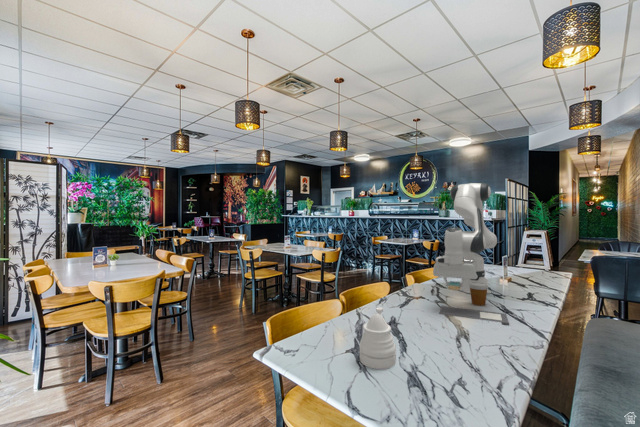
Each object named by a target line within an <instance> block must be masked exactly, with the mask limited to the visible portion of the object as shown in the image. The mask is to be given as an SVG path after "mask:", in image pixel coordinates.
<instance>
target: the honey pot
mask: <svg viewBox="0 0 640 427" xmlns="http://www.w3.org/2000/svg"><path fill="white" fill-rule="evenodd" d="M375 310H376V313H373V314H372V315H371V316H370V318H369V319H368V321H367V322H366V323H364V324H363V325H362V328H363V330H364V332H363V333H362V337H361V340H360V343H359V361H360V362H361V364H362V365H364V366H366V367H367V368H371V369H376V370H385V369H391V368H393V367H394V366H395V365H397V364H396V363H397V352H396V351H397V347H396V346H397V345H396V344H395V341H394V337H393V334H392V333H391V331H392V326H390V325H389V324H388V323H387V322H386V320H385V318H384V317H383V316H382V313H383V312H384V311H383V310H384V307H380V306H379V307H376V308H375Z"/></svg>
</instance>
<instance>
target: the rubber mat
mask: <svg viewBox="0 0 640 427" xmlns="http://www.w3.org/2000/svg"><path fill="white" fill-rule="evenodd" d="M438 314H439V315H443V316H451V317H458V318H464V319H465V318H466V319H473V320H481V321H489V322H496V323H501V325H503V326H510V324H509V323H510V322H509V319H508V316H507V313H503V312H495V311H488V310H487V311H486V310H478V309H471V308H469V309H468V308H461V307H453V306H445V305H441V306H440V308H439V311H438Z"/></svg>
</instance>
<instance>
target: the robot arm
mask: <svg viewBox="0 0 640 427" xmlns="http://www.w3.org/2000/svg"><path fill="white" fill-rule="evenodd" d="M491 194H492V190H491V187H490V185H489V184H488V183H485V182H481V183H479V182H478V183H477V182H473V183H472V182H470V183H462V184H454V185H453V186H452V187H451V189H450V198H451V200H453V210H454V211H455V213H456V214H457V215H458V216H460V217H462V218H463V222H464V224H465V225H467V226H468V227H471V228H472V229H474V231H470V230H468V231H466V230H462V228H460V227H455V226H454V227H448V228H446V230H445V231H444V232H445V233H444V248H445V249H444V250H445V251H444V255H440V256H436V258H435V263H434V265H433V269H432V273H433V276H434V277H438V278H439V277H440V278H441V277H442V278H443V280H444V282H445V287H446V286H447V287H449V282H450V281H448V280H447V278H451V279H452V278H453V279H461V280H460V281H461V282H460V290H459V291H460V292H463V293H467V294H470V295H471V293H470V287H469V284H470V283H471V282H480V283H485V284H487V286H488V287H489V285H488V282H489V281H488V279H487V278H486V277H485V276H486V271H485V260H484V258H483V256H482V255H480V253H483V251H484V250H487V249H488V250H489V249H493V248H495V247H496V246H497V243H498V238H497V236H496V234H495V232H492V231H491V230H490V229H489V228H488V227H487V226H486V223H485V220H484V218H485V217H484V204H483V203H485V201H487V200H488V199H489V198H490V197H491ZM487 294H492V291H491V290H490V289H489V288H488V289H487Z"/></svg>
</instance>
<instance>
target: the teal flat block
mask: <svg viewBox="0 0 640 427" xmlns="http://www.w3.org/2000/svg"><path fill="white" fill-rule="evenodd" d="M448 282H449V286H448V290H451V291H452V290H453V291H454V290H455V291H460V283H461V282H460V281H448Z"/></svg>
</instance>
